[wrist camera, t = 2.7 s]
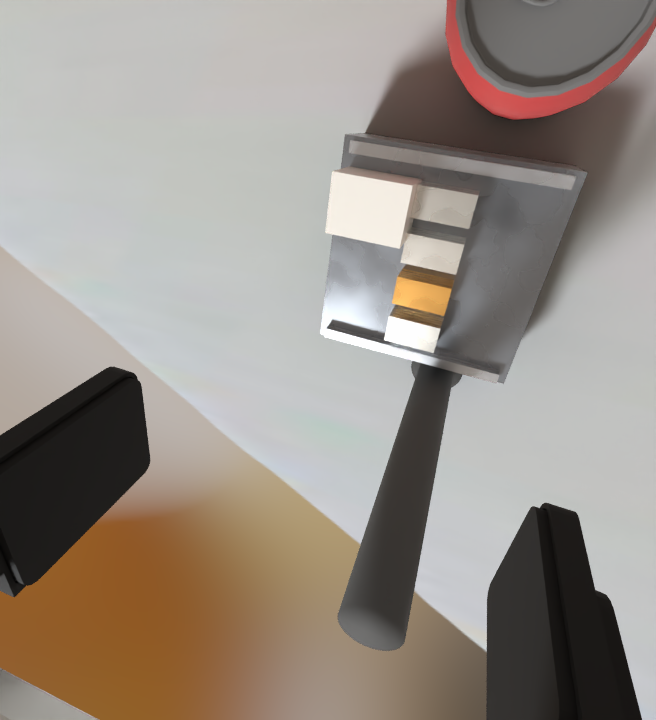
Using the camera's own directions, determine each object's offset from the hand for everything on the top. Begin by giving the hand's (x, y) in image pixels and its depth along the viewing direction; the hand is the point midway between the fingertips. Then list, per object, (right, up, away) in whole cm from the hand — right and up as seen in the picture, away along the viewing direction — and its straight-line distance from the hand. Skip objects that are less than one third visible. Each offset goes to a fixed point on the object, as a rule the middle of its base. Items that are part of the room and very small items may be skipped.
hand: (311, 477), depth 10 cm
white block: (+3, +12, +14) cm, 18 cm away
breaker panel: (+7, +10, +18) cm, 22 cm away
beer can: (+11, +19, +12) cm, 25 cm away
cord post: (+8, +2, +21) cm, 23 cm away
